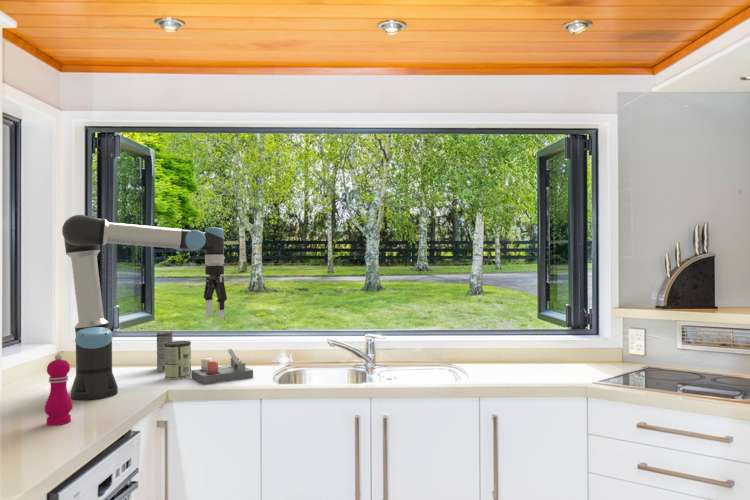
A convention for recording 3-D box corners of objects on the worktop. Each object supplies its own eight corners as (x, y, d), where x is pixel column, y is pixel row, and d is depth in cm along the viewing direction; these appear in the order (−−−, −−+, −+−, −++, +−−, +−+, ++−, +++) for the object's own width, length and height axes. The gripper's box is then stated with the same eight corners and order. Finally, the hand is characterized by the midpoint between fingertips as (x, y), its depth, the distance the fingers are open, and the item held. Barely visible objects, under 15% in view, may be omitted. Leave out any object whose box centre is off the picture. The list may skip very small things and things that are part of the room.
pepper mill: (77, 418, 173) (76, 352, 174) (65, 425, 166) (64, 356, 167) (52, 419, 173) (52, 352, 174) (39, 426, 166) (39, 356, 166)
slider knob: (233, 366, 238) (233, 359, 238) (230, 365, 241) (230, 358, 241) (238, 365, 240) (238, 358, 240) (236, 364, 242) (236, 357, 242)
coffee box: (157, 368, 257) (157, 331, 257) (173, 367, 258) (172, 331, 259) (156, 371, 248) (156, 334, 248) (172, 370, 250) (172, 333, 250)
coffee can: (171, 374, 241) (171, 340, 242) (195, 374, 240) (194, 340, 241) (159, 379, 231) (159, 344, 231) (184, 379, 230) (184, 344, 230)
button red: (209, 375, 224) (209, 362, 224) (206, 374, 227) (206, 361, 227) (219, 374, 226) (219, 361, 226) (216, 373, 229) (216, 360, 229)
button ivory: (203, 372, 230) (203, 360, 231) (200, 371, 234) (200, 358, 234) (213, 371, 233) (212, 359, 233) (209, 370, 236) (209, 357, 236)
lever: (239, 370, 232) (228, 351, 229) (237, 368, 234) (226, 350, 232) (243, 367, 233) (232, 348, 230) (241, 365, 235) (230, 347, 233)
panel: (203, 384, 220) (203, 368, 221) (191, 377, 234) (191, 362, 234) (253, 377, 232) (252, 362, 232) (238, 371, 245) (238, 357, 245)
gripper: (235, 264, 229) (235, 318, 229) (212, 265, 250) (213, 314, 249) (216, 265, 225) (217, 319, 225) (195, 265, 245) (195, 315, 245)
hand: (214, 316), depth 237 cm, fingers open, 13 cm apart
